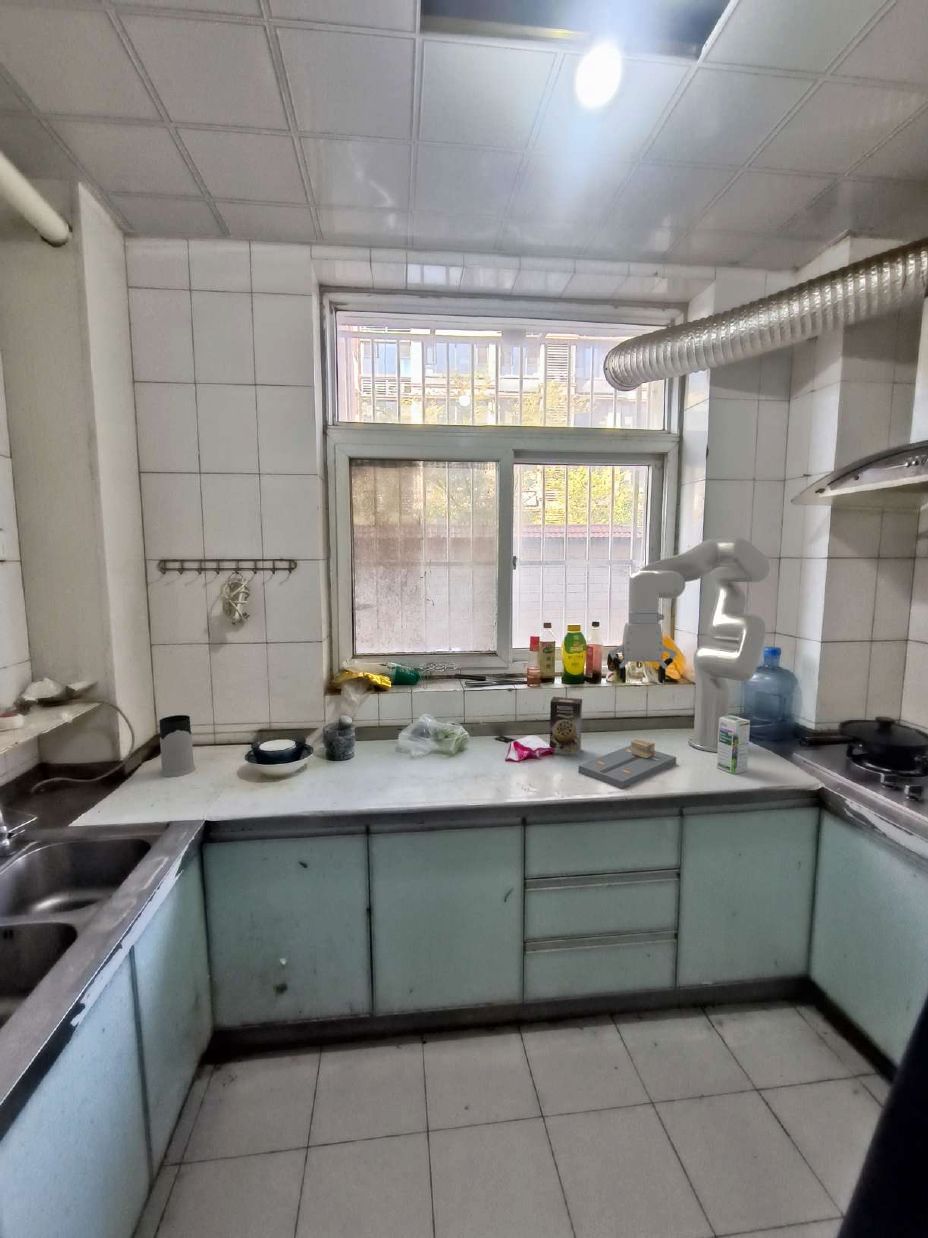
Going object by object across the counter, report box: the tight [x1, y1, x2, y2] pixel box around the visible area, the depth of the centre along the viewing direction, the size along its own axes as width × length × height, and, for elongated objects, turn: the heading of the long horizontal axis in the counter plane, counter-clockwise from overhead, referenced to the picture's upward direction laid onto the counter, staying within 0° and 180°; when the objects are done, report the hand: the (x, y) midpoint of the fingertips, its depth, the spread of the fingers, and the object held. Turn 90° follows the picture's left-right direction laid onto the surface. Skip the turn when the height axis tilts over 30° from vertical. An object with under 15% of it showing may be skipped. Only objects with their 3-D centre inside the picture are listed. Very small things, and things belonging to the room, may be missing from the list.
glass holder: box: [159, 714, 196, 778], centre depth 152 cm, size 9×14×15 cm, turn 36°
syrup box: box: [716, 715, 751, 775], centre depth 148 cm, size 6×6×14 cm
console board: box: [577, 744, 677, 790], centre depth 150 cm, size 26×14×2 cm, turn 129°
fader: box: [630, 738, 656, 758], centre depth 154 cm, size 4×5×4 cm
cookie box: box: [549, 696, 583, 757], centre depth 163 cm, size 9×6×16 cm
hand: (641, 682), depth 145 cm, fingers open, 9 cm apart
